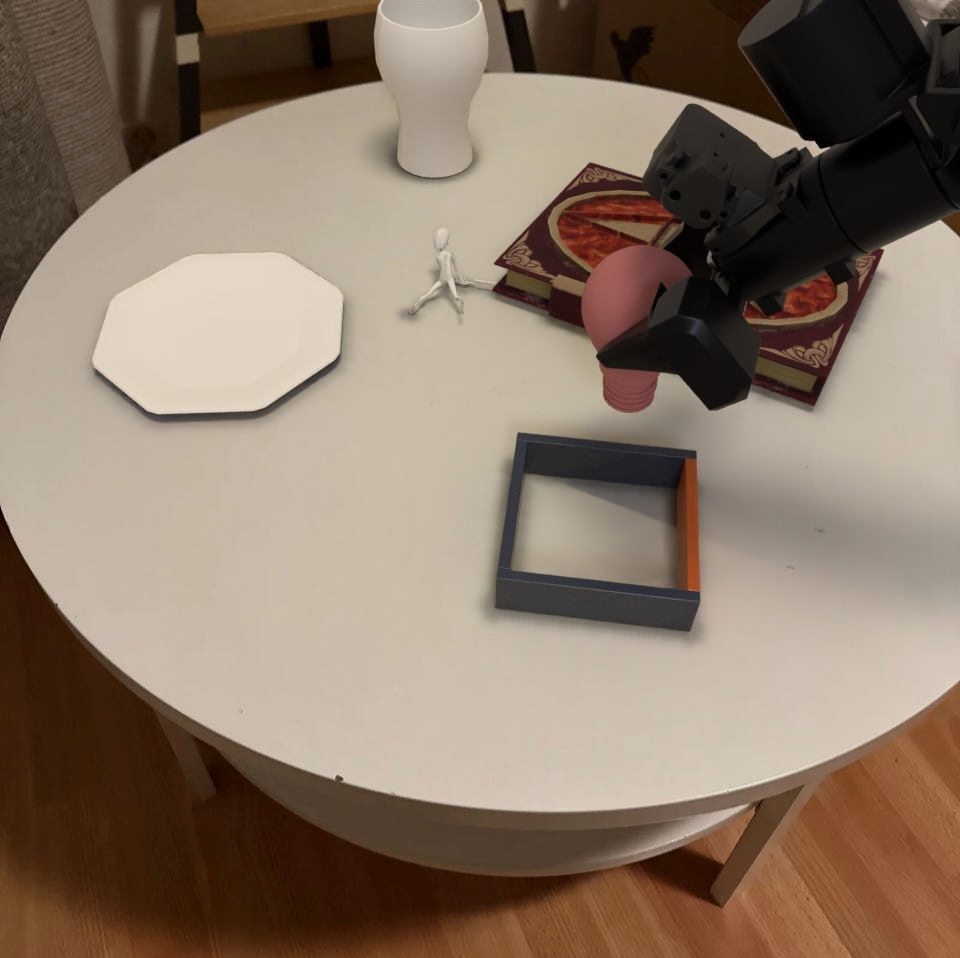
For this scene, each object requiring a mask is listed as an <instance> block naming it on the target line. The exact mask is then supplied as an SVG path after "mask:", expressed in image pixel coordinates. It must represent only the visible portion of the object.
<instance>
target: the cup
mask: <svg viewBox="0 0 960 958" xmlns="http://www.w3.org/2000/svg"><path fill="white" fill-rule="evenodd" d="M376 9H377V10H376V17H375V23H374V30H373V42H374V43H373V45H374V54H375V63H376V66H377V69H378V71H379V75H380V77H381V80H382V82H383V85H384V87H385V88H386V90H387V91H388V93H389V94H390V95H389V96H390V97H391V98H392V100H393V101H394V103H395V107H396V110H397V111H396V112H397V117H398V121H399V130H398V141H397V151H396V152H397V154H396V156H397V157H396V158H397V163H398V164H399V166H400V167H401V168H402V169H403V170H404V171H406V172H408V173H410V174H412V175H415V176H419V177H422V178H430V179H431V178H433V179H434V178H436V179H437V178H446V177H450V176H454V175H456V174H459V173H461V172H463V171H464V170H467V168H468V167H469V166H470V165H471V164H472V161H473V158H474V157H473V148H472V142H471V136H470V131H469V126H468V125H469V118H470V109H471V103H472V101H473V99H474V97H475V95H476V93H477V92H478V90H479V88H480V85H481V83H482V80H483V76H484V73H485V70H486V66H487V63H488V59H489V31H488V27H487V22H486V17H485V12H484V7H483V5H482V1H480V0H380V1H379V3H378V5H377V8H376Z"/></svg>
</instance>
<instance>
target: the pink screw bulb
mask: <svg viewBox="0 0 960 958" xmlns="http://www.w3.org/2000/svg"><path fill="white" fill-rule="evenodd" d="M688 276H693V275H692V273H691V271H690V270H689V269H688V267H687V266H686V265H685V264H684V263H683V262H682V261H681V260H680V259H679V258H678V257H676V256H675V255H673V254H672V253H670V252H668V251H666V250H664V249H661V248H658V247H654V246H647V245H638V246H630V247H627V248H623V249H620V250H618V251H616V252H614V253H612V254H611V255H609V256H607V257H606V258H605V259H604V260H603V261H601V262H600V263H599V264H598V265H597V266H596V268H595V269H594V270H593V272H592V273H591V275H590V276H589V278H588V280H587V282H586V285H585V287H584V291H583V295H582V305H581V311H582V319H583V322H584V326H585V328H586V329H585V331H586V333H587V335H588V337H589V340H590V341H591V344H592V345H593V348H594V349H595V350H596V353H597V352H598V351H599V350H600V349H602V348H603V347H604V346H605V345H607V344H608V343H609V342H610V341H612V340H613V339H615V338H616V337H617V336H619V335H620V334H622V333H623V332H625V331H626V330H628V329H629V328H630V327H632V326H633V325H635V324H636V323H638V322H639V321H641V320H642V319H643V318H645V317H646V316H648V314H649V310H650V307H651V304H652V302H653V299H654V296H655V293H656V290H657V288H658V285H659V283H660V282H662V283H663V284H664V285H665V287H666V288H667V289H669V288H670V287H671V286H672V285H673V284H675V283H677V282H678V281H680V280H682V279H684V278H686V277H688ZM598 366H599V369H600V372H601V374H602V388H603V389H602V397H603V399H604V402H605V403H606V404H607V405H608V406H609V407H611V408H612V410H615V411H618V412H620V413H625V414H635V413H639V412H642V411H645V410H646V409H647V408H649V407H650V406H651V405H652V403H653V401H654V399H655V393H656V390H657V388H658V381H659V376H660V374H661V373H660V372H650V371H637V370H625V369H613V368H606V367H604V366H603V365H602V364H601V363H600V362H599V361H598Z"/></svg>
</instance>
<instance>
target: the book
mask: <svg viewBox="0 0 960 958" xmlns="http://www.w3.org/2000/svg"><path fill="white" fill-rule="evenodd" d="M642 178H643V176H638V175H634V174H632V173H628V172H625V171H621V170H619V169H614V168H612V167H608V166H604V165H601V164H597V163H595V162H591V161H589V162H588V163H587V164H586V165H585V166H584V167H583V168H582V169H581V170H580V172H579V173H578V174H576V175H575V177H574V178H573V179H572V180H571V181H570V182H569V183H568V184H567V185H566V186H565V187H564V188H563V190H561V191H560V193H559V194H558V195H557V196H556V197H555V198H554V199H553V200H552V201H551V202H550V203H549V204H548V205H547V206H546V207H545V209H544V210H542V211H541V213H540V214H539V215H538V216H537V217H536V218H535V219H534V220H533V221H532V222H531V223H530V224H529V225H528V226H527V227H526V228H525V229H524V230H523V231H522V233H521V234H520V235H518V237H517V238H516V239H515V240H513V242H512V243H511V244H510V245H509V246H508V247H507V248H506V249H505V251H503V252H502V253H501V254H500V256H498V257H497V259H495V261H493V265H494V266H497V267H500V268H502V269H506V270H507V272H506V273H505V274H504V276H502V278H500V280H499V281H498V282H496V283H497V284H496V285H495V286H494V287H493V290H492V292H493V293H495V294H499V295H500V296H504V297H507V298H510V299H512V300H515V301H518V302H520V303H523V304H526V305H529V306H532V307H534V308H537V309H541V310H544V311H545V312H546V311H547V312H548V317H551V318H553V319H556V320H559V321H562V322H563V323H568V324H569V325H573V326H576V327H579V328H581V329H584V330H586V328H585V326H584V322H583V319H582V311H581V305H582V295H583V291H584V287H585V285H586V282H587V280H588V278H589V276H590V275H591V273H592V272H593V270H594V269H595V268H596V266H597V265H598V264H599V263H600V262H601V261H603V260H604V259H605V258H606V257H607V256H609V255H611V254H612V253H614V252H616V251H618V250H620V249H623V248H627V247H630V246H638V245H647V246H654V247H659V246H660V245H661V244H662V243H663V242H664V241H665V240H666V239H667V238H668V237H669V236H670V235H671V234H672V233H673V232H674V231H675V230H676V229H677V228H678V226H679V225H680V224H681V223H682V222H683V221H682V220H681V219H679V218H677V217H676V216H674V215H673V214H671V213H670V212H668V211H667V210H665V209H664V208H663V207H662V203H661V202H660V201H658V200H656V199H655V198H653V197H652V196H651V195H650V194H649V193H648V192H647V191H646V190H645V188H644V186H643V183H642ZM884 252H885V249H884V248H879V249H877V250H875V251H873V252H871V253H869V254H867V255H865V256H863V257H861V258H859V259H857V261H856V268H855V276H854V278H853V279H851V280H848V281H846V282H844V283H842V284H840V285H837V286H836V285H835V284H834V282H833V281H832V280H831V278H830V277H829V276H828V274H825V275H822V276H820V277H818V278H816V279H814V280H812V281H810V282H808V283H805V284H803V285H801V286H799V287H797V288H795V289H793V290H791V291H788V292H787V296H786V300H785V305H784V310H783V311H781V312H778V313H776V314H774V315H772V316H770V317H767V316H766V315H765V314H764V313H763V311H762V310H761V309H760V308H759V306H758V305H757V304H756V302H755V301H752V302H750V303H749V302H747V304H746V308H745V312H744V318H745V319H746V320H747V321H748V323H749V324H750V325H751V326H752V328H753V329H754V330H755V332H756V333H757V334H758V335H759V337H760V338H761V339H762V341H761V346H760V350H759V354H758V359H757V363H756V368H755V372H754V376H753V381H752V384H751V385H753V386H756V387H759V388H762V389H764V390H767V391H770V392H773V393H775V394H779V395H781V396H784V397H787V398H790V399H792V400H795V401H798V402H801V403H803V404H807V405H809V406H811V407H816V405H817V403H818V400H819V398H820V396H821V394H822V391H823V389H824V387H825V384H826V383H827V380H828V378H829V376H830V374H831V371H832V368H833V367H834V365H835V363H836V361H837V358H838V355H839V353H840V352H841V349H842V347H843V344H844V342H845V340H846V338H847V336H848V333H849V331H850V329H851V327H852V325H853V323H854V320H855V318H856V316H857V313H858V312H859V309H860V307H861V305H862V302H863V300H864V298H865V296H866V294H867V292H868V289H869V287H870V285H871V283H872V281H873V278H874V276H875V274H876V271H877V269H878V267H879V264H880V263H881V260H882V257H883V255H884Z"/></svg>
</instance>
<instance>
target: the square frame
mask: <svg viewBox="0 0 960 958" xmlns="http://www.w3.org/2000/svg"><path fill="white" fill-rule="evenodd" d="M511 466H512V467H511V473H510V479H509V480H510V481H509V486H508V487H509V488H508V494H507V495H508V496H507V499H506V508H505V514H504V521H503V529H502V535H501V540H500V541H501V542H500V549H499V554H498V563H497V570H496V576H495V596H494V609H497V610H504V611H512V612H513V611H514V612H522V613H530V614H531V613H532V614H539V615H545V616H547V615H548V616H555V617H564V618H573V619H582V620H589V621H598V622H606V623H613V624H623V625H630V626H631V625H632V626H640V627H649V628H657V629H658V628H659V629H666V630H674V631H683V632H691V630H692V627H693V625H694V621H695V620H696V616H697V613H698V610H699V607H700V604H701V573H700V572H701V569H700V566H701V565H700V532H699V531H700V529H699V528H700V527H699V493H698V492H699V491H698V487H699V486H698V451H697V450H696V449H695V450H694V449H684V448H674V447H664V446H657V445H656V446H655V445H645V444H638V443H637V444H636V443H626V442H617V441H606V440H600V439H599V440H598V439H587V438H580V437H579V438H578V437H577V438H576V437H570V436H569V437H568V436H558V435H548V434H541V433H540V434H539V433H538V434H537V433H530V432H522V431H521V432H520V431H517V433H516V439H515V446H514V453H513V460H512V465H511ZM526 474H530V475H539V476H540V475H541V476H549V477H550V476H551V477H558V478H566V479H576V480H577V479H578V480H586V481H595V482H596V481H597V482H605V483H613V484H614V483H615V484H623V485H632V486H633V485H634V486H643V487H651V488H653V487H654V488H661V489H662V488H663V489H670V490H676V545H677V546H676V547H677V551H676V553H677V554H676V555H677V563H676V565H677V567H676V569H677V571H676V572H677V588H668V587H660V586H651V585H643V584H634V583H627V582H626V583H625V582H617V581H607V580H600V579H591V578H582V577H574V576H573V577H572V576H565V575H556V574H547V573H539V572H530V571H521V570H513V567H514V560H515V554H516V545H517V539H518V538H517V537H518V530H519V521H520V515H521V509H522V500H523V492H524V486H525V478H526Z"/></svg>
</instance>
